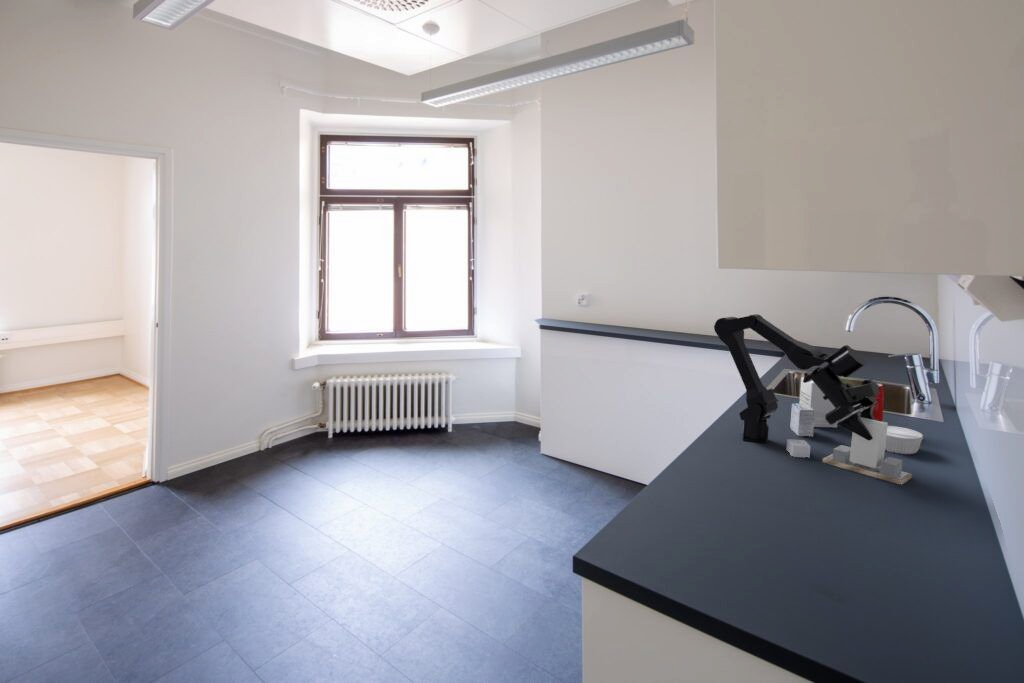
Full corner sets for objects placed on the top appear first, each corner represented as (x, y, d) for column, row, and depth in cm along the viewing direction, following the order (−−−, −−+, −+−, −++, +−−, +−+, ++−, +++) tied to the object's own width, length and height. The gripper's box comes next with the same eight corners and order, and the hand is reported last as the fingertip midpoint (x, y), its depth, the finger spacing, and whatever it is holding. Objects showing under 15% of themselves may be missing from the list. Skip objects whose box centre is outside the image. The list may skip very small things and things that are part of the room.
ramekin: (890, 455, 145) (892, 437, 145) (864, 442, 156) (866, 425, 156) (931, 456, 145) (933, 438, 144) (902, 442, 156) (904, 425, 155)
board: (822, 462, 140) (822, 458, 140) (833, 456, 145) (833, 453, 144) (901, 485, 126) (902, 481, 126) (911, 477, 130) (912, 474, 130)
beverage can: (886, 432, 165) (891, 386, 163) (865, 431, 165) (870, 386, 163) (873, 426, 171) (878, 381, 169) (853, 426, 171) (858, 381, 169)
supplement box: (825, 420, 178) (829, 377, 176) (837, 428, 169) (842, 383, 167) (797, 418, 179) (800, 376, 177) (808, 427, 170) (812, 382, 168)
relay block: (791, 457, 145) (792, 445, 144) (786, 450, 149) (787, 439, 149) (809, 458, 144) (810, 446, 143) (803, 451, 149) (804, 440, 148)
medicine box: (813, 437, 160) (815, 410, 159) (797, 436, 161) (799, 409, 160) (804, 429, 168) (806, 403, 167) (789, 428, 169) (791, 402, 167)
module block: (849, 461, 136) (853, 420, 134) (857, 456, 139) (861, 417, 137) (875, 468, 131) (880, 426, 129) (883, 463, 134) (887, 422, 132)
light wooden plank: (825, 458, 140) (825, 458, 140) (835, 454, 144) (835, 453, 144) (900, 479, 127) (900, 479, 127) (908, 473, 130) (909, 473, 130)
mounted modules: (832, 459, 139) (833, 448, 139) (840, 455, 142) (841, 444, 142) (894, 476, 128) (895, 465, 128) (901, 471, 131) (902, 460, 131)
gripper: (843, 374, 129) (890, 428, 122) (872, 365, 140) (917, 414, 133) (807, 398, 136) (849, 450, 129) (837, 388, 147) (878, 435, 140)
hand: (875, 437), depth 133 cm, fingers open, 5 cm apart
